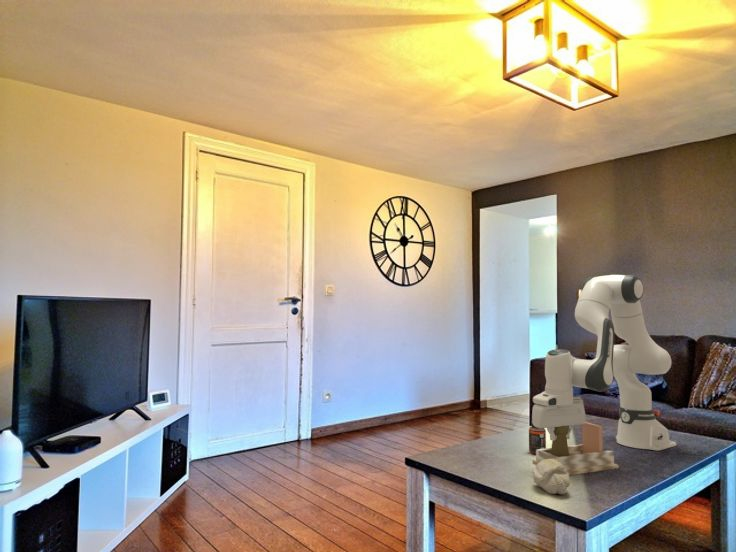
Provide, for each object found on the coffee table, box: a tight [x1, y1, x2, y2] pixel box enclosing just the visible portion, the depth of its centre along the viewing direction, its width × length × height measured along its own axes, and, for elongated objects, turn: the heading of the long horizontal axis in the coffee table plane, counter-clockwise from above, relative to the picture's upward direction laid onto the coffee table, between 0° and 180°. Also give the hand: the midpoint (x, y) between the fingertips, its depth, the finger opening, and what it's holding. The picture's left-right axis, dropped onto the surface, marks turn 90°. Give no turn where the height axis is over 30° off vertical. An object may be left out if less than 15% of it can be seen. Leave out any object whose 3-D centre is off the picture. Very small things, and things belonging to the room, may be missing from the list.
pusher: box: [581, 421, 604, 454], centre depth 166 cm, size 2×7×12 cm, turn 22°
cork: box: [550, 426, 569, 457], centre depth 161 cm, size 6×6×11 cm
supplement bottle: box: [528, 421, 547, 455], centre depth 177 cm, size 6×6×11 cm
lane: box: [532, 443, 619, 476], centre depth 163 cm, size 24×14×5 cm, turn 112°
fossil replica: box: [532, 458, 571, 495], centre depth 140 cm, size 12×8×10 cm
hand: (559, 439), depth 161 cm, fingers closed on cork, 4 cm apart
